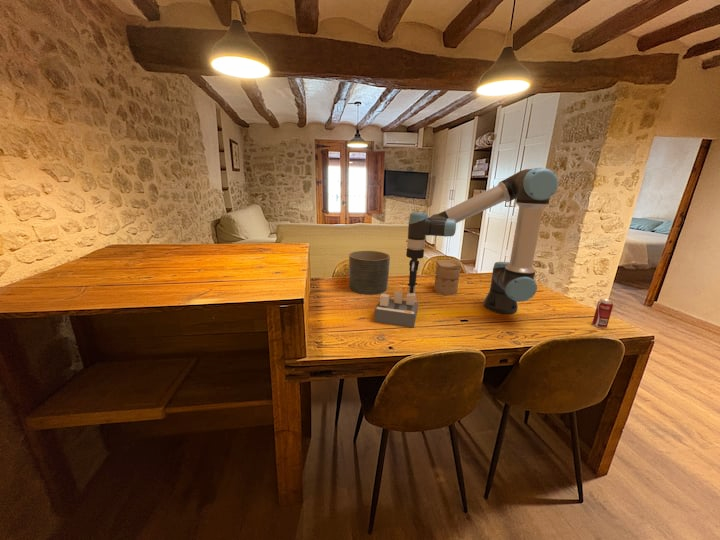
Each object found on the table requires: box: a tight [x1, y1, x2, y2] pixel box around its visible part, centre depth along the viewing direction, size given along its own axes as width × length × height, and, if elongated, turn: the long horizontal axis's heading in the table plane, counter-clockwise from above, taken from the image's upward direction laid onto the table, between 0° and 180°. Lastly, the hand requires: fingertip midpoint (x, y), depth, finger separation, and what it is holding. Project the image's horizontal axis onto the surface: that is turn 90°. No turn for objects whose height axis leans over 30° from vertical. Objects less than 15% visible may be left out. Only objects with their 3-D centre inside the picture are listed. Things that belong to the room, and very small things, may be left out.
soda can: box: [591, 298, 614, 329], centre depth 131 cm, size 5×5×12 cm
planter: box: [348, 250, 391, 296], centre depth 165 cm, size 22×22×20 cm
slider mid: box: [393, 290, 404, 304], centre depth 135 cm, size 4×4×4 cm
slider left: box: [379, 292, 391, 307], centre depth 132 cm, size 4×4×4 cm
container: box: [433, 258, 462, 296], centre depth 163 cm, size 13×13×18 cm
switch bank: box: [374, 296, 419, 328], centre depth 134 cm, size 17×16×6 cm
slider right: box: [406, 292, 417, 306], centre depth 134 cm, size 4×4×4 cm
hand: (411, 298), depth 137 cm, fingers closed
